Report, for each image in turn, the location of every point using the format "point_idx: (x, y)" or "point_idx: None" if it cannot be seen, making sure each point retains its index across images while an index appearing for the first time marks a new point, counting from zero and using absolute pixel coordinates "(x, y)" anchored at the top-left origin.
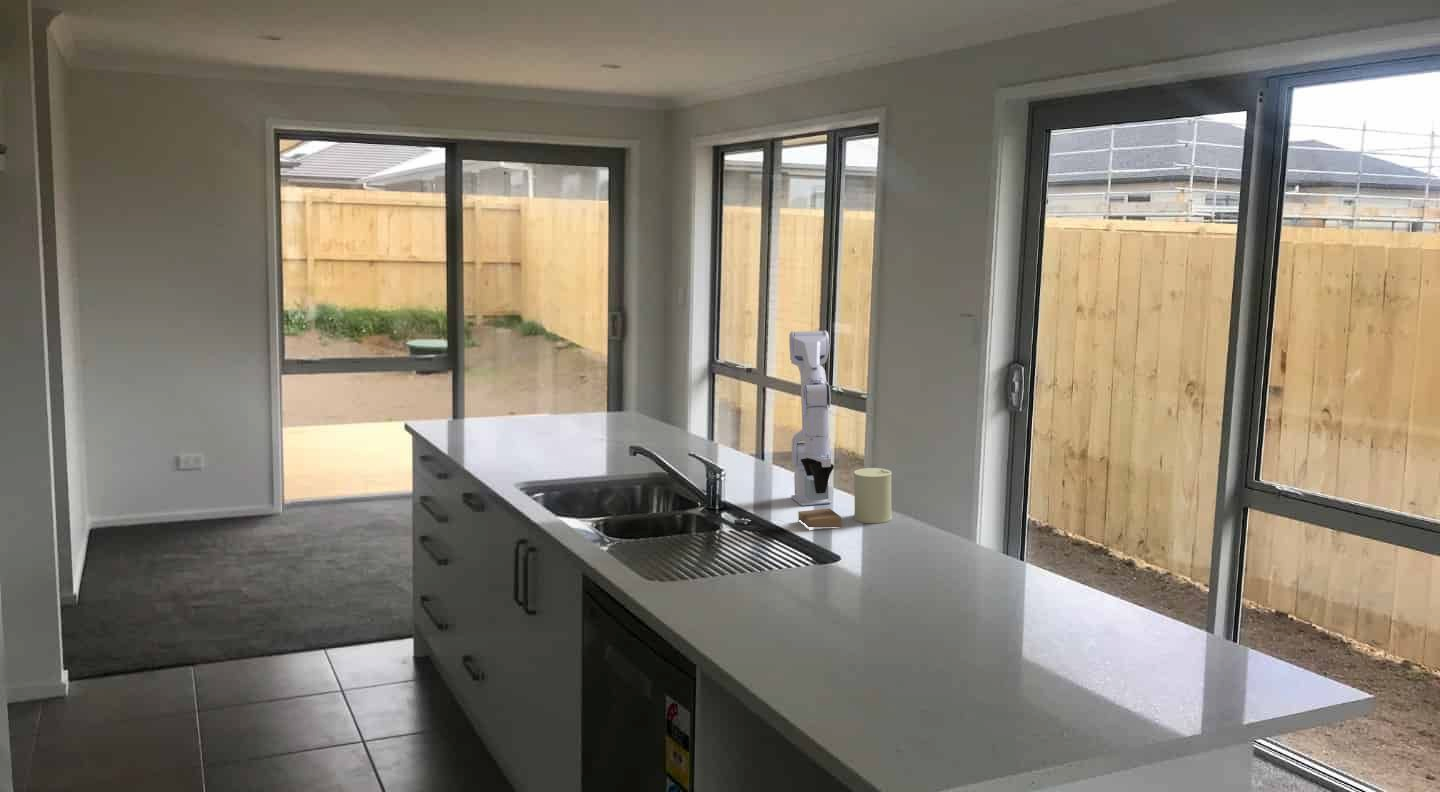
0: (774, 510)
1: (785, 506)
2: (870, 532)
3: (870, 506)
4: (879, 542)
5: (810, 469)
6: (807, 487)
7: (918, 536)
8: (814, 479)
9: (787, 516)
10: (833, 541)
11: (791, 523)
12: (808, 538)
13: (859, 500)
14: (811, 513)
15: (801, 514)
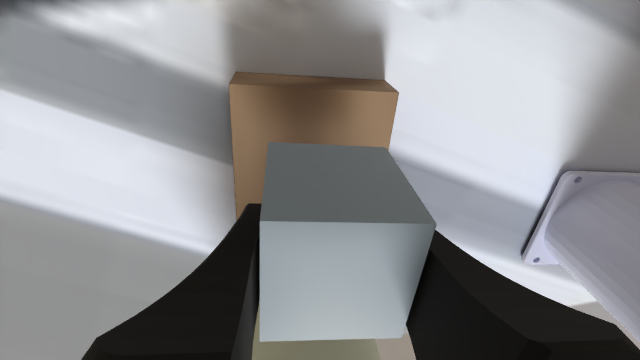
0: (601, 47)
1: (611, 114)
2: (153, 260)
3: (255, 338)
4: (20, 250)
5: (447, 315)
6: (330, 179)
7: (84, 347)
8: (229, 258)
9: (485, 66)
10: (42, 109)
11: (378, 39)
12: (106, 18)
13: None
14: (337, 137)
15: (349, 89)
